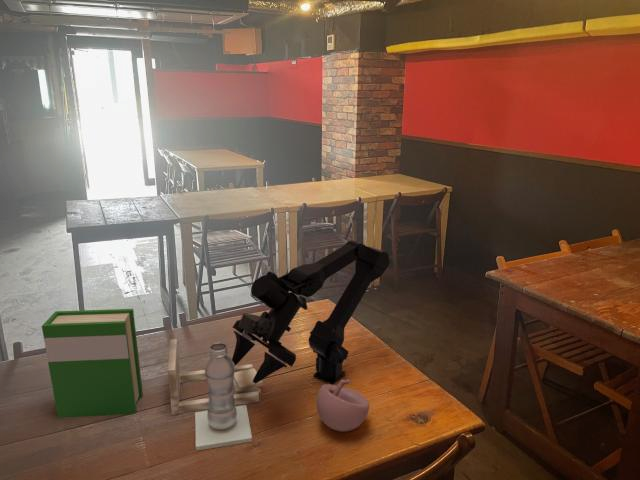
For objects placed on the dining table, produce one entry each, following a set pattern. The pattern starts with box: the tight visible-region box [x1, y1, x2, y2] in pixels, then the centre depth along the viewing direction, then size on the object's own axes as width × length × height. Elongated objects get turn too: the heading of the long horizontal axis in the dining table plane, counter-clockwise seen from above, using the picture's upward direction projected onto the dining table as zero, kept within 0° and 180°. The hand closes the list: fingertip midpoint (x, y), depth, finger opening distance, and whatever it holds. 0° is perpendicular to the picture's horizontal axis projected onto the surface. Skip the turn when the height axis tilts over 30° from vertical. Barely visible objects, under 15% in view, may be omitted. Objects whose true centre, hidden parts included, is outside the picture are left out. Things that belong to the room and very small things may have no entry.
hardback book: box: [41, 308, 144, 419], centre depth 116 cm, size 18×7×24 cm, turn 96°
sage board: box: [194, 404, 253, 452], centre depth 112 cm, size 12×12×1 cm
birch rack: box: [167, 338, 260, 416], centre depth 124 cm, size 21×15×12 cm
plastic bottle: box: [204, 342, 237, 430], centre depth 109 cm, size 6×7×20 cm
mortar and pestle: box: [316, 378, 370, 432], centre depth 112 cm, size 12×12×11 cm
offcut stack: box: [233, 367, 264, 395], centre depth 128 cm, size 7×8×3 cm
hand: (242, 373), depth 112 cm, fingers open, 9 cm apart
